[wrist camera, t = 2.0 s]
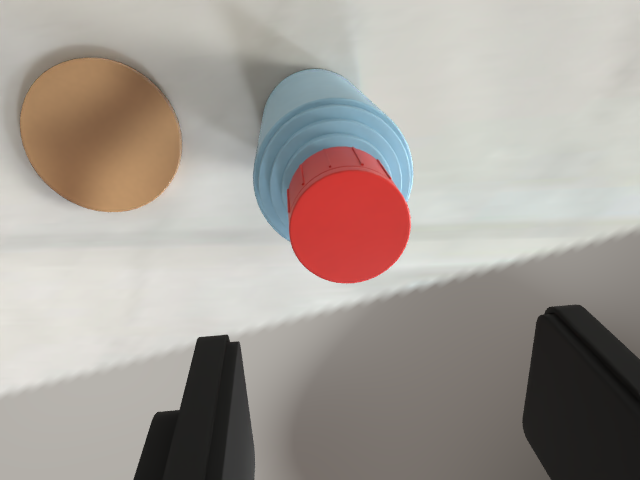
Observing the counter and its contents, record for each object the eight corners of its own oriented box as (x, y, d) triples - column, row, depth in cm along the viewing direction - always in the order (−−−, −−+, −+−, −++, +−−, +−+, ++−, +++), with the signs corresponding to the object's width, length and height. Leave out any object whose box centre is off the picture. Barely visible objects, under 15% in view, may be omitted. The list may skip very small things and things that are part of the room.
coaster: (205, 103, 33) (203, 104, 32) (151, 231, 36) (149, 234, 35) (48, 26, 30) (44, 27, 30) (6, 171, 34) (2, 174, 33)
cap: (410, 174, 20) (434, 202, 17) (360, 260, 21) (373, 300, 18) (317, 127, 19) (324, 148, 16) (270, 220, 20) (268, 256, 17)
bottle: (385, 99, 33) (487, 177, 17) (336, 190, 36) (384, 336, 19) (290, 48, 32) (302, 80, 15) (245, 147, 34) (213, 266, 18)
